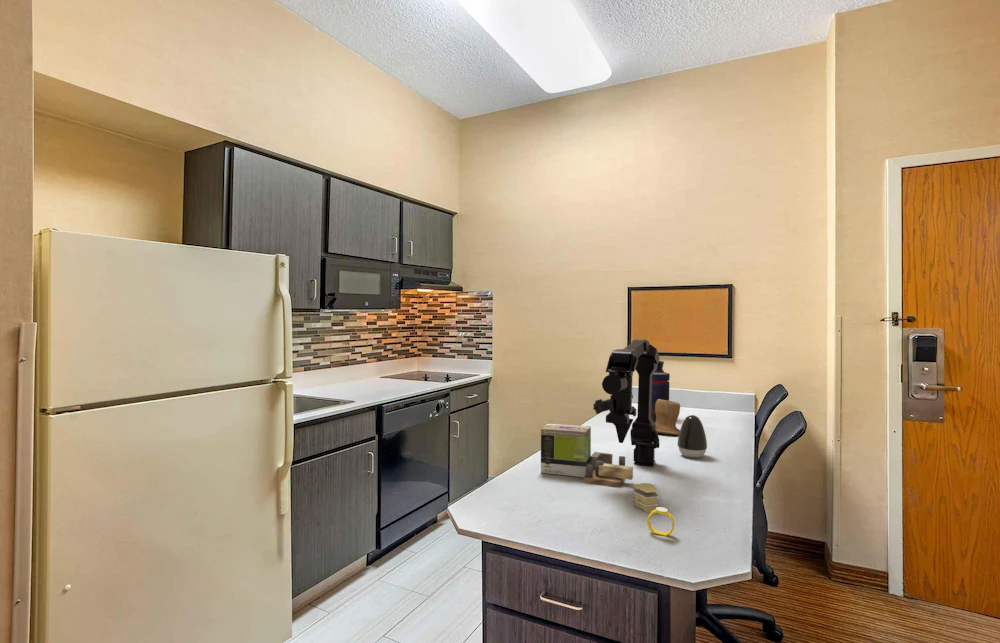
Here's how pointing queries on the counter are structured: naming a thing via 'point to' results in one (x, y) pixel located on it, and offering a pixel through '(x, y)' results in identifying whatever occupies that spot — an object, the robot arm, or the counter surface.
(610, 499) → the counter surface
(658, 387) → the dark blue tall bottle
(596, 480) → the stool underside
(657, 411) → the tan boot
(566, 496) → the counter surface
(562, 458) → the tea box
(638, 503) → the stacked layers on plate
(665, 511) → the watch
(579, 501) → the counter surface
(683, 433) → the dark egg shaped device
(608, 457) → the corner bracket
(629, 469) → the oak leg
